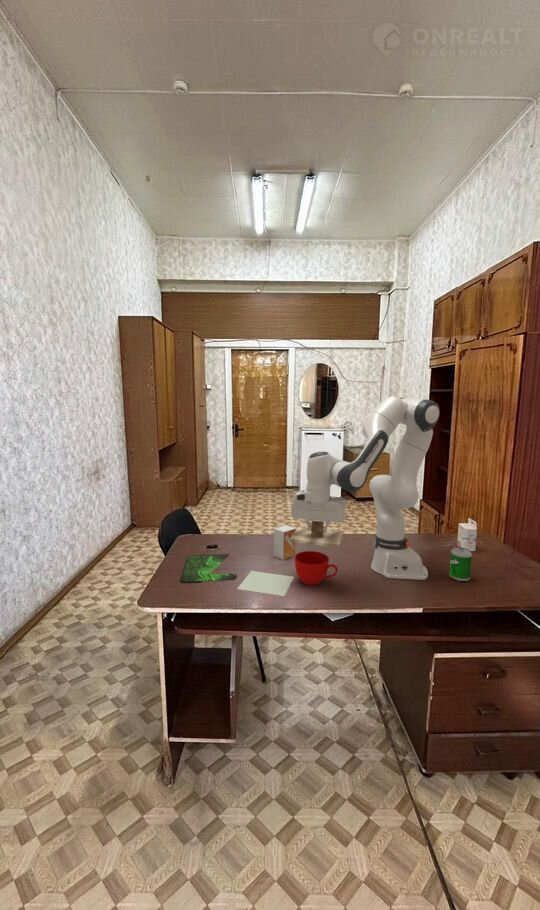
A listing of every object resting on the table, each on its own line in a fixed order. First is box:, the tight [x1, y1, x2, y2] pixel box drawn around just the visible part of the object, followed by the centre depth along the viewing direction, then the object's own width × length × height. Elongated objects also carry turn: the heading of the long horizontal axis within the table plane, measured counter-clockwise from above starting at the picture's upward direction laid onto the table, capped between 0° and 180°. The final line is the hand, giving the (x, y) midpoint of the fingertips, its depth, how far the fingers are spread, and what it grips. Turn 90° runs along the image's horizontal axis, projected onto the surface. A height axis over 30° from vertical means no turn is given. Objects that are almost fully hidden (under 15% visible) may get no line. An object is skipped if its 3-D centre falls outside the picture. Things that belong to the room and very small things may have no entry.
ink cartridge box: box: [456, 517, 478, 552], centre depth 181 cm, size 9×5×15 cm, turn 179°
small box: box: [273, 524, 297, 561], centre depth 171 cm, size 8×6×13 cm
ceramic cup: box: [294, 550, 339, 586], centre depth 145 cm, size 13×17×10 cm
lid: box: [290, 520, 344, 548], centre depth 143 cm, size 18×14×6 cm
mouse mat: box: [179, 553, 238, 584], centre depth 159 cm, size 27×22×1 cm
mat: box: [236, 570, 295, 597], centre depth 145 cm, size 18×16×1 cm
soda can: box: [448, 546, 473, 582], centre depth 150 cm, size 8×8×12 cm
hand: (317, 531), depth 143 cm, fingers closed on lid, 4 cm apart
